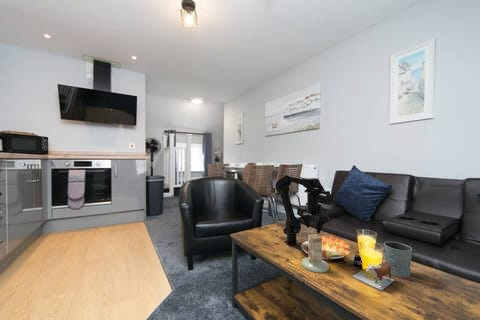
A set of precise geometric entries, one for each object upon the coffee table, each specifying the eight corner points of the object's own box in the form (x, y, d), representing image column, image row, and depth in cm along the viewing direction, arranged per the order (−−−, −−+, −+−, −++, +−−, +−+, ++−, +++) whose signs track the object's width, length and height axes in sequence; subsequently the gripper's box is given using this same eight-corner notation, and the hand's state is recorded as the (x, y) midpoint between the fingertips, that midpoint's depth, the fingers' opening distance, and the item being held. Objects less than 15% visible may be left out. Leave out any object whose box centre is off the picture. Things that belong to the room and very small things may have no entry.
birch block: (308, 261, 95) (308, 234, 95) (316, 260, 96) (316, 234, 96) (313, 266, 91) (313, 238, 91) (321, 265, 92) (321, 237, 92)
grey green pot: (388, 276, 85) (388, 248, 85) (380, 264, 94) (380, 239, 95) (417, 280, 81) (417, 252, 82) (406, 268, 91) (406, 242, 91)
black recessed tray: (343, 264, 96) (343, 255, 96) (347, 259, 101) (347, 250, 101) (373, 274, 87) (373, 264, 87) (376, 267, 93) (376, 258, 93)
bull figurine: (363, 283, 80) (363, 263, 80) (384, 275, 85) (384, 257, 85) (374, 290, 76) (374, 269, 76) (395, 281, 81) (395, 262, 81)
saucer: (297, 261, 98) (297, 258, 98) (317, 258, 101) (317, 255, 101) (311, 274, 86) (311, 271, 86) (334, 270, 89) (334, 268, 89)
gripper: (338, 204, 98) (338, 235, 98) (315, 197, 116) (315, 224, 116) (318, 205, 95) (319, 237, 95) (298, 198, 113) (298, 225, 113)
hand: (313, 230), depth 105 cm, fingers open, 9 cm apart
